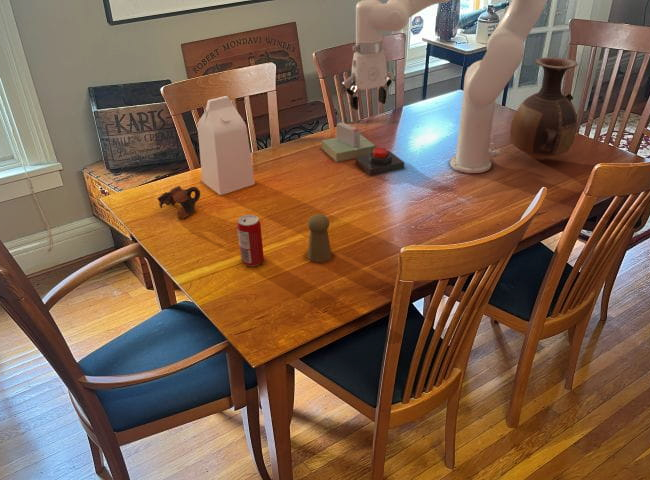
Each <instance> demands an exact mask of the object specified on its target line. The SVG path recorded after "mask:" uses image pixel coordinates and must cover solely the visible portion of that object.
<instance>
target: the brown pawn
mask: <svg viewBox="0 0 650 480" xmlns="http://www.w3.org/2000/svg"><path fill="white" fill-rule="evenodd" d="M329 227H330V220H329V218H328V217H327V216H326V215H324V214H320V213H319V214H313V215H311V216H310V217H309V218H308V221H307V228H308V229H309V239H308V250H307V258H308V260H309V261H311V262H314V263H325V262H328V261H330V260H331V259H332V250H331V243H330V238H329V232H328V229H329Z"/></svg>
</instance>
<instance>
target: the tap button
mask: <svg viewBox="0 0 650 480" xmlns="http://www.w3.org/2000/svg"><path fill="white" fill-rule="evenodd" d="M387 151H388V149H386V148H385V147H375V149H374V150H373V156H374V157H376V158H384V157H387Z"/></svg>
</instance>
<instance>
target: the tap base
mask: <svg viewBox="0 0 650 480" xmlns="http://www.w3.org/2000/svg"><path fill="white" fill-rule="evenodd" d="M321 149H322V150H323V152H325V153H326V154H327V155H328V156H329V157H330V158H331V159H332V160H334V161H335V162H336V163H339V162H343V161H348V160H353V159H356V158H357V157H362V156H367V155H369V153H370V152H371V151H373V150H374V149H376V144H374V143H372V142H371V141H370V140H369V139H367V138H366V137H365V136H364V135H362V134H361V133H360V146H358V147H355V148H354V147H352V146H349V145H347V144H345V143H343V142H341V141H338V140H337V137H333V138H328V139H321Z"/></svg>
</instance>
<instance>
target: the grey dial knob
mask: <svg viewBox="0 0 650 480" xmlns="http://www.w3.org/2000/svg"><path fill="white" fill-rule="evenodd" d="M360 134H361V129H360V128H358V127H355V126H352V125H350V124H348V123H346V122H343V121H341V122H339V123H336V138H337V140H338V141H341V142H343V143H345V144H347V145H349V146H352V147H354V148H355V147H358V146H360Z"/></svg>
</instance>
